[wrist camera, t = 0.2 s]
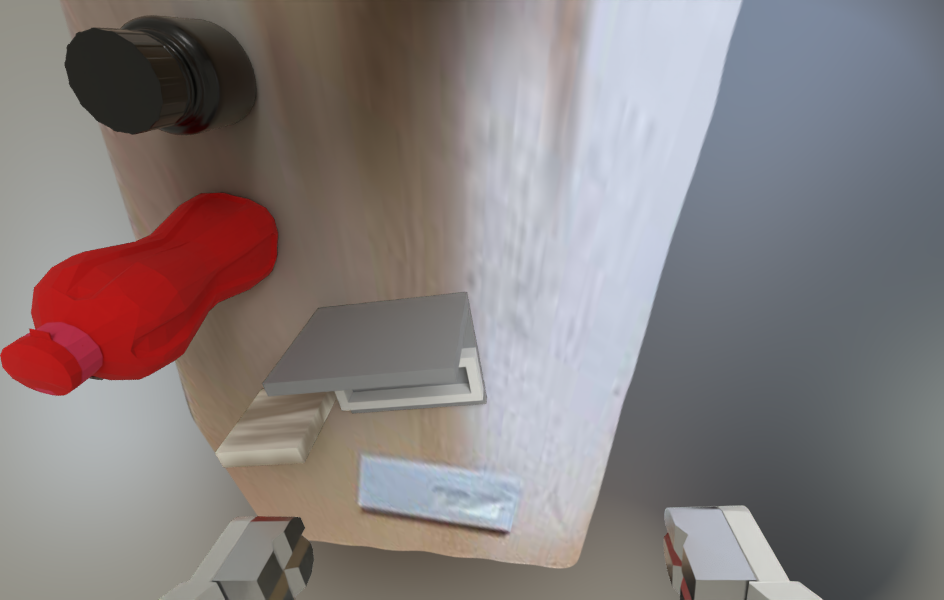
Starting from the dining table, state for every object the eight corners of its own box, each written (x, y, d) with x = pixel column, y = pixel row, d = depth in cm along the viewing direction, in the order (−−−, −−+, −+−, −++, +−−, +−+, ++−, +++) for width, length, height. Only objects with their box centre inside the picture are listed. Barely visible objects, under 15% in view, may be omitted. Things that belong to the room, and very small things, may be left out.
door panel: (261, 389, 61) (214, 452, 52) (331, 383, 60) (297, 447, 50) (268, 404, 62) (224, 469, 53) (337, 399, 61) (305, 465, 51)
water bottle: (201, 272, 53) (-15, 430, 31) (195, 181, 48) (-70, 294, 26) (280, 291, 54) (121, 460, 32) (283, 203, 48) (94, 332, 26)
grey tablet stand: (318, 308, 54) (262, 383, 42) (467, 291, 52) (453, 367, 39) (354, 407, 61) (315, 496, 49) (486, 397, 59) (480, 488, 47)
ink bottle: (144, 21, 41) (18, 13, 30) (235, 5, 40) (137, -9, 29) (190, 135, 45) (95, 161, 35) (273, 123, 44) (199, 147, 34)
